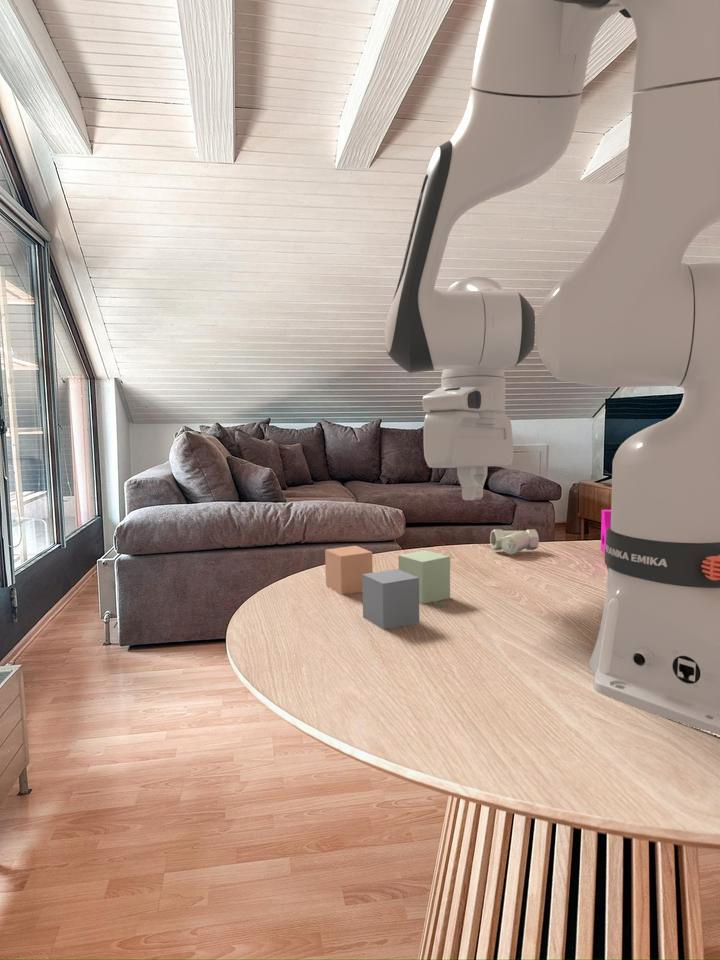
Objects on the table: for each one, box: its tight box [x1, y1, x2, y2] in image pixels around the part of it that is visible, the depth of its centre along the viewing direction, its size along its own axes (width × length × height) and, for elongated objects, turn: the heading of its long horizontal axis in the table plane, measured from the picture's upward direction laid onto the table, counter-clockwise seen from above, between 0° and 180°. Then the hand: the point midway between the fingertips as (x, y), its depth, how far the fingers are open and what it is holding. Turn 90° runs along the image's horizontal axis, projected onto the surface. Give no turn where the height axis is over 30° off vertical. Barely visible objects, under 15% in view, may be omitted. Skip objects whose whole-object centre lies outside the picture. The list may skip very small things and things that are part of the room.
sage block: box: [397, 549, 451, 605], centre depth 88 cm, size 5×5×6 cm
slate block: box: [362, 568, 420, 630], centre depth 78 cm, size 5×5×6 cm
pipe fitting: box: [489, 528, 540, 555], centre depth 116 cm, size 8×4×7 cm
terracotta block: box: [324, 545, 374, 595], centre depth 92 cm, size 5×5×6 cm
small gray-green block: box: [430, 601, 449, 609], centre depth 85 cm, size 2×1×1 cm, turn 28°
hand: (472, 499), depth 90 cm, fingers closed
